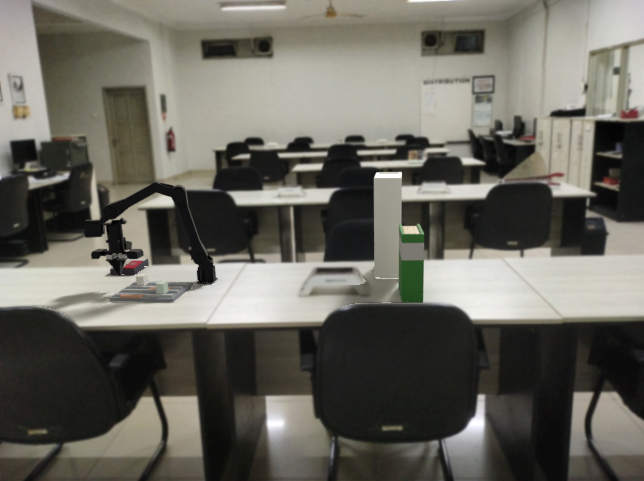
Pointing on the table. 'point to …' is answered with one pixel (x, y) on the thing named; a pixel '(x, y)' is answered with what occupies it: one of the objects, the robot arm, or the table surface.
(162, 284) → the sage slider
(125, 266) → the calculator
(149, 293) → the grey slider track board
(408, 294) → the hardback book
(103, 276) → the table surface
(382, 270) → the storage box
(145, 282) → the cream slider
